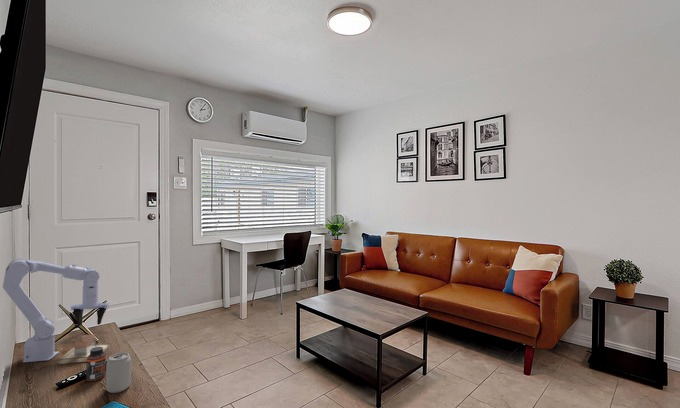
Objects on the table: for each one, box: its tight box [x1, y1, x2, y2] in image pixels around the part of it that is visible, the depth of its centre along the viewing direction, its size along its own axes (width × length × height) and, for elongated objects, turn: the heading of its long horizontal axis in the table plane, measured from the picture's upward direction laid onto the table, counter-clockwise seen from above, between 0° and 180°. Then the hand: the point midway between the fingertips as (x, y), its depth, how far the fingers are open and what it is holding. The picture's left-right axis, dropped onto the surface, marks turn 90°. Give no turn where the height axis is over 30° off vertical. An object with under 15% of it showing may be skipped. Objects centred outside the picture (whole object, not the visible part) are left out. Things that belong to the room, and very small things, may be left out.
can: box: [105, 352, 132, 394], centre depth 123 cm, size 8×8×12 cm
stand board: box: [57, 343, 111, 365], centre depth 149 cm, size 14×14×2 cm
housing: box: [74, 334, 96, 356], centre depth 149 cm, size 4×8×6 cm, turn 15°
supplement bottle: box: [85, 347, 107, 382], centre depth 130 cm, size 6×6×11 cm
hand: (89, 324), depth 157 cm, fingers open, 7 cm apart
